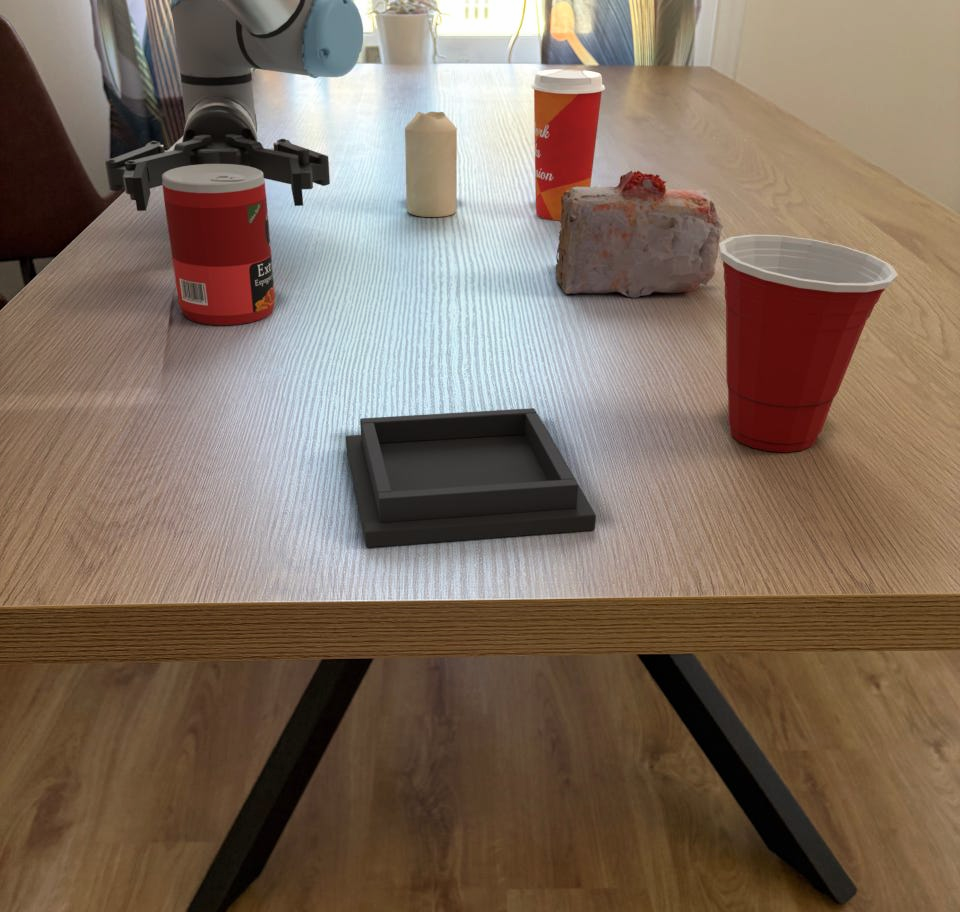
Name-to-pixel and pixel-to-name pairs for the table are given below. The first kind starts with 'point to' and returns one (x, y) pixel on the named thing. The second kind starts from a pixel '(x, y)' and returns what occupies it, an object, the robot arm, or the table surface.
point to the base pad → (462, 478)
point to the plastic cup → (792, 332)
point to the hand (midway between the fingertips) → (219, 192)
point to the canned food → (220, 242)
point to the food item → (637, 238)
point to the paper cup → (564, 134)
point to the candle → (431, 165)
